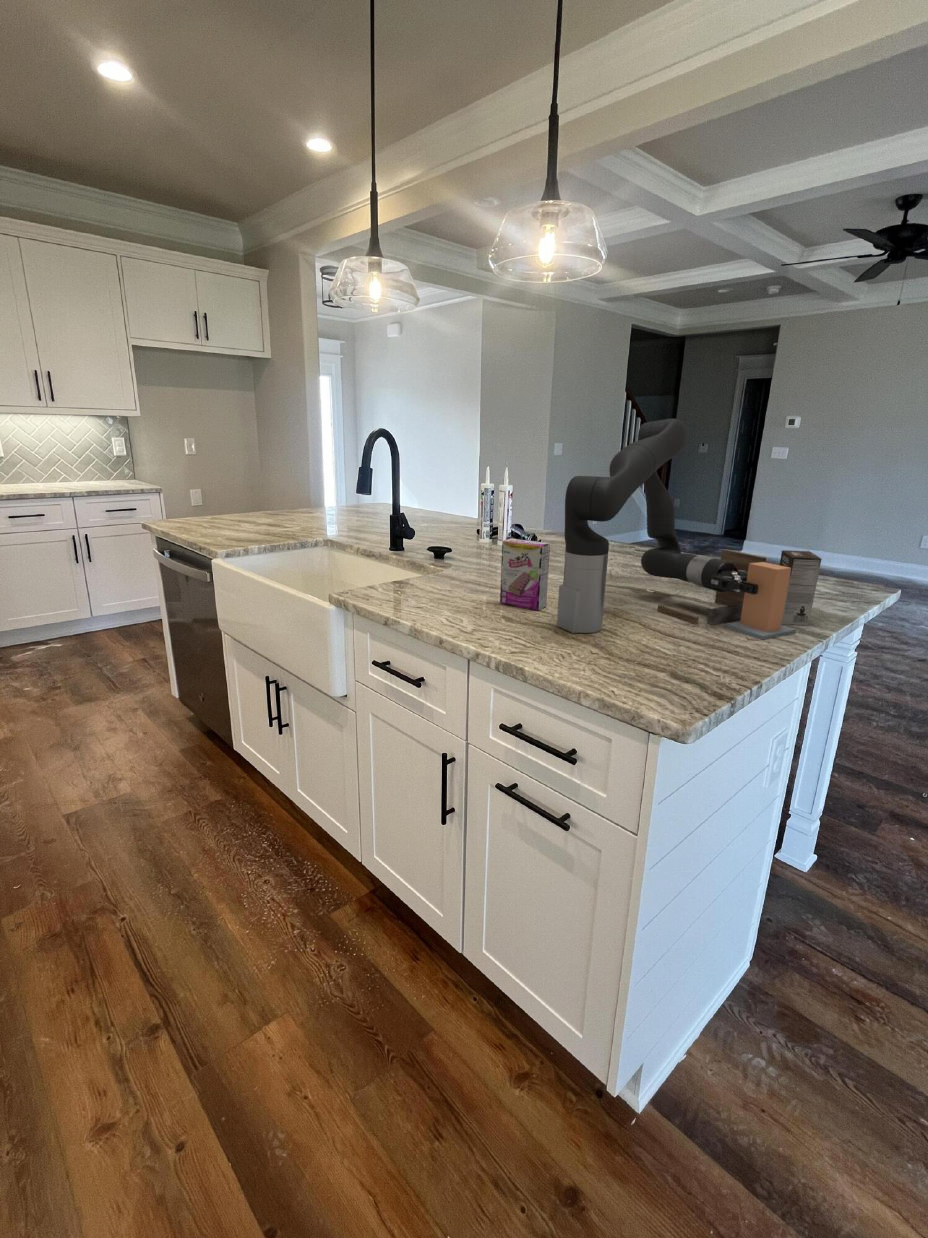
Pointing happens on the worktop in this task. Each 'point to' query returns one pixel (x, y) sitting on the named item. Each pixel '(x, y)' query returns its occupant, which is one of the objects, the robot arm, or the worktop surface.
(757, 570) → the orange block
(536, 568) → the candy bar box
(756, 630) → the mat
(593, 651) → the worktop surface
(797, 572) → the coffee box
